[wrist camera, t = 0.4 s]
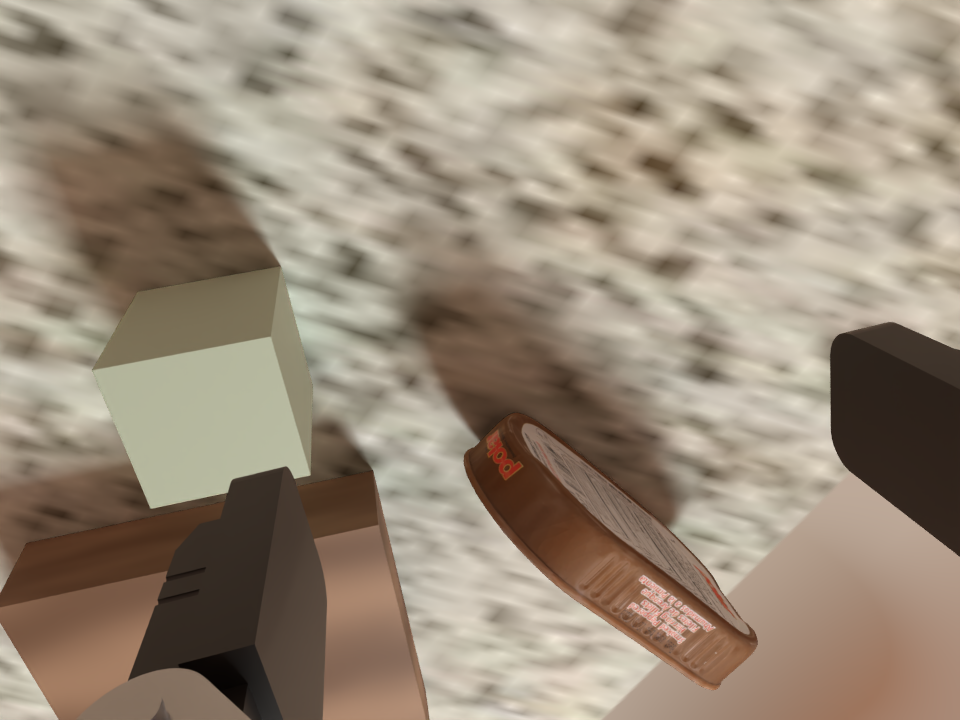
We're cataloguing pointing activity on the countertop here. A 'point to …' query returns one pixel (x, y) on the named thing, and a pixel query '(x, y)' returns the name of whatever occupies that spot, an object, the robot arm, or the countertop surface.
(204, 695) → the robot arm
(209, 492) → the sage block
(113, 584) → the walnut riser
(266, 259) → the countertop surface
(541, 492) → the tin
